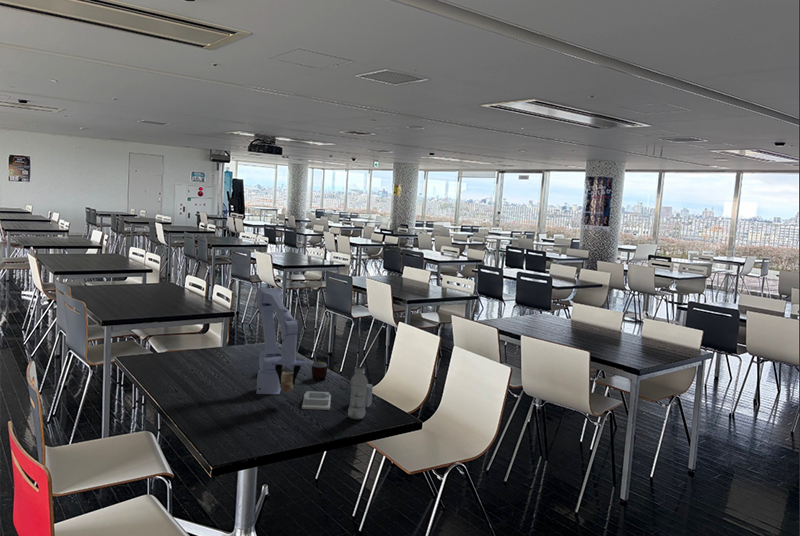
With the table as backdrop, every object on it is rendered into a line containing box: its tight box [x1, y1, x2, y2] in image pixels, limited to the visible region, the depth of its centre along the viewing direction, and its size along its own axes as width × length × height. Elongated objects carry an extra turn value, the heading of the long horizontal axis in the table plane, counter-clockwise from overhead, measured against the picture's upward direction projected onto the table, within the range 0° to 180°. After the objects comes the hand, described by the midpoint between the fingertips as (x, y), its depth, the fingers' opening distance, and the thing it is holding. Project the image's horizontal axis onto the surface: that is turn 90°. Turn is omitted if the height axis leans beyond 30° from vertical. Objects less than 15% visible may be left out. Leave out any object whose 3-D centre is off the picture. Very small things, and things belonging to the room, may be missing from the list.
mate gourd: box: [310, 348, 328, 382], centre depth 271 cm, size 8×8×15 cm
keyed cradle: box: [301, 390, 332, 411], centre depth 243 cm, size 11×15×3 cm
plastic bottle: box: [347, 366, 369, 420], centre depth 228 cm, size 6×7×20 cm
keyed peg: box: [280, 371, 294, 393], centre depth 236 cm, size 4×6×6 cm
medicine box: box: [365, 383, 374, 408], centre depth 244 cm, size 8×4×9 cm, turn 71°
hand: (287, 383), depth 237 cm, fingers closed on keyed peg, 4 cm apart
